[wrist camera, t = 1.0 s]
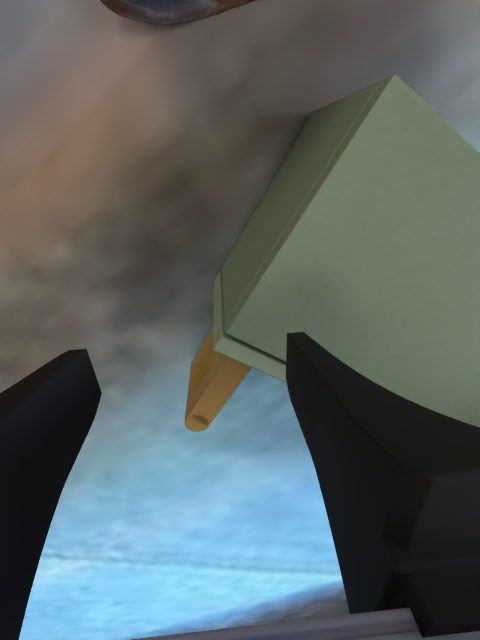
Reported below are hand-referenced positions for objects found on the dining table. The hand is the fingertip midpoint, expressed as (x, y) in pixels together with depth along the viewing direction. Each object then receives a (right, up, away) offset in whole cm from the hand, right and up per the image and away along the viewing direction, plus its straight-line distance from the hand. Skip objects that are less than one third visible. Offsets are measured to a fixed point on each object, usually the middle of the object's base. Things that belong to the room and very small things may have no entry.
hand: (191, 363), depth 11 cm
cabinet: (+10, +6, +9) cm, 15 cm away
